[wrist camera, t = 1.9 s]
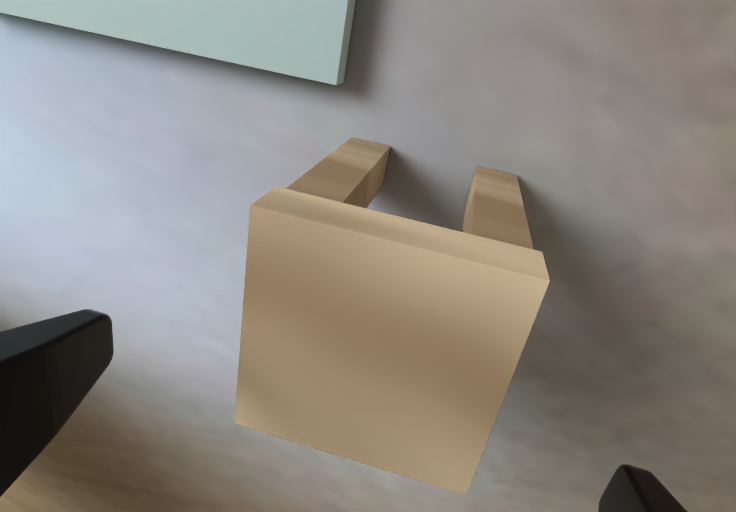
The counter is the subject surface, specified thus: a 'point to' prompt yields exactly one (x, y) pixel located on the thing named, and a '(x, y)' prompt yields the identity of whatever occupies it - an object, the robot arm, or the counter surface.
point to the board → (218, 29)
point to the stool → (385, 319)
